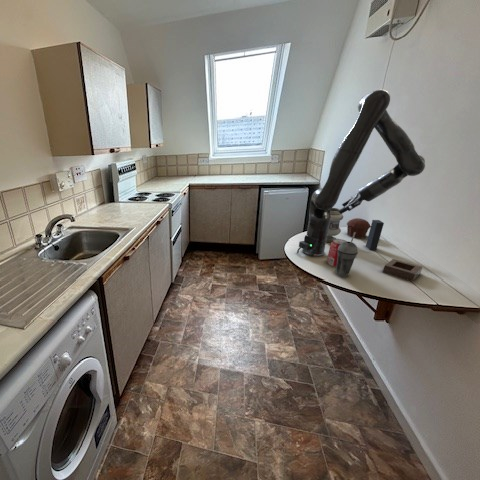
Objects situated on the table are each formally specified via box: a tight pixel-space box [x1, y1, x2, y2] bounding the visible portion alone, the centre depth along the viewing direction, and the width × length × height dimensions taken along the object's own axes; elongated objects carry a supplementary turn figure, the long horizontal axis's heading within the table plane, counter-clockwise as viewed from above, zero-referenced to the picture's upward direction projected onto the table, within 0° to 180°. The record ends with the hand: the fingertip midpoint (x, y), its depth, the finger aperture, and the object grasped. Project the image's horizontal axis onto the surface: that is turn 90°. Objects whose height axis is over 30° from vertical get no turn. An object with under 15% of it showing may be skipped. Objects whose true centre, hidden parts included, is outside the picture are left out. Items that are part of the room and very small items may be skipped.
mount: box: [382, 258, 423, 282], centre depth 116 cm, size 10×10×4 cm
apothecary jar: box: [326, 207, 344, 243], centre depth 152 cm, size 12×12×18 cm
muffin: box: [346, 217, 371, 239], centre depth 156 cm, size 12×11×10 cm
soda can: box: [326, 238, 348, 268], centre depth 124 cm, size 7×7×12 cm
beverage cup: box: [335, 232, 359, 278], centre depth 113 cm, size 7×7×20 cm
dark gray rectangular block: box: [365, 219, 385, 251], centre depth 138 cm, size 3×5×15 cm, turn 165°
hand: (341, 209), depth 138 cm, fingers open, 8 cm apart
